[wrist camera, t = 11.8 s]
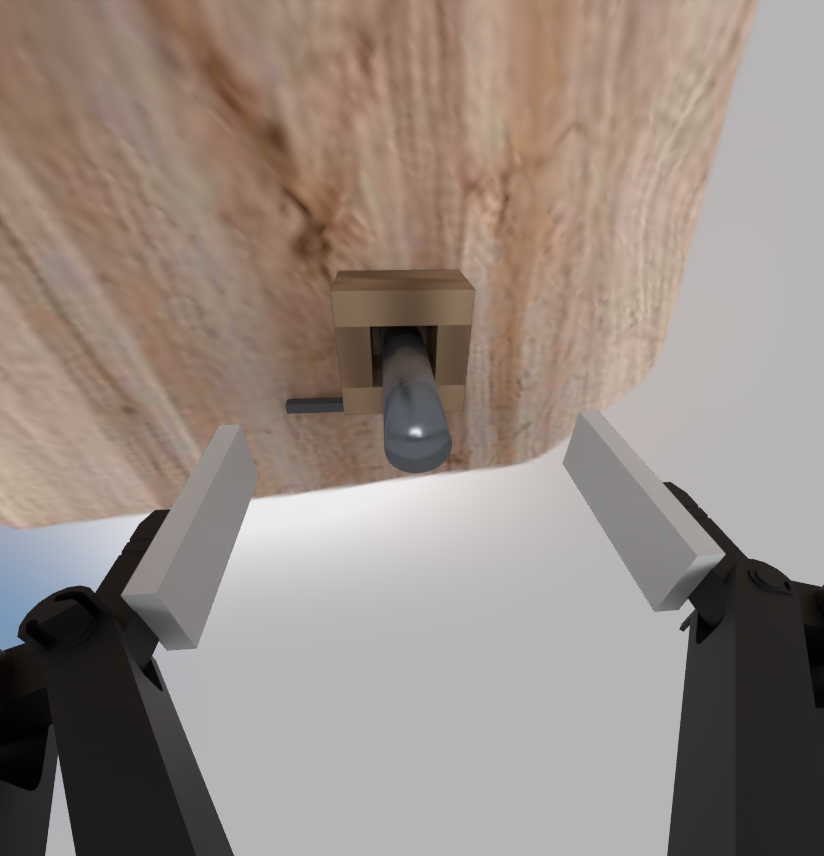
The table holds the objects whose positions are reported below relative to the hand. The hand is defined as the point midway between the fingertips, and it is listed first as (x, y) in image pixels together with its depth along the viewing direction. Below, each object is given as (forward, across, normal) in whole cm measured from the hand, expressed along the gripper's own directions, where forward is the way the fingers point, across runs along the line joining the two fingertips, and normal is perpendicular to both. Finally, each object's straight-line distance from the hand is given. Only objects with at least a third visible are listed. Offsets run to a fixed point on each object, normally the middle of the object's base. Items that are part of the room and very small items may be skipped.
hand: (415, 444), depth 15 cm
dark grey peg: (+14, 0, -1) cm, 14 cm away
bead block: (+14, 0, -1) cm, 14 cm away
